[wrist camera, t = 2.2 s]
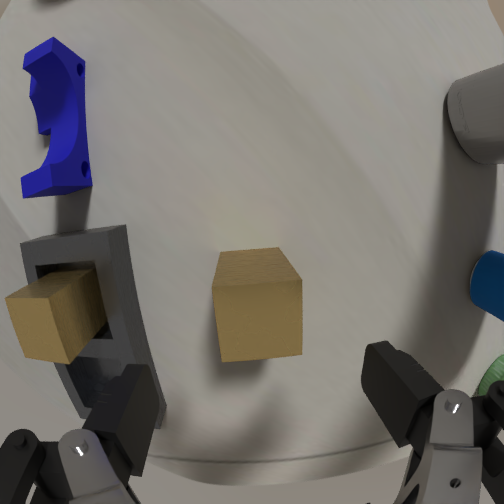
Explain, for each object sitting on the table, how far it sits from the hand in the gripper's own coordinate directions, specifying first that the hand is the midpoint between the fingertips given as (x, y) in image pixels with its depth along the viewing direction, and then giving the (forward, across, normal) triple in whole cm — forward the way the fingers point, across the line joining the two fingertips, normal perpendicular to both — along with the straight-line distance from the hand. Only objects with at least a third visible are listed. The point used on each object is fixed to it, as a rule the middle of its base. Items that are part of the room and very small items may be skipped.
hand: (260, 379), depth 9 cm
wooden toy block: (+13, -1, 0) cm, 13 cm away
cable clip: (+13, +15, -14) cm, 24 cm away
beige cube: (+12, +13, 0) cm, 18 cm away
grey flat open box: (+13, +13, +4) cm, 19 cm away
